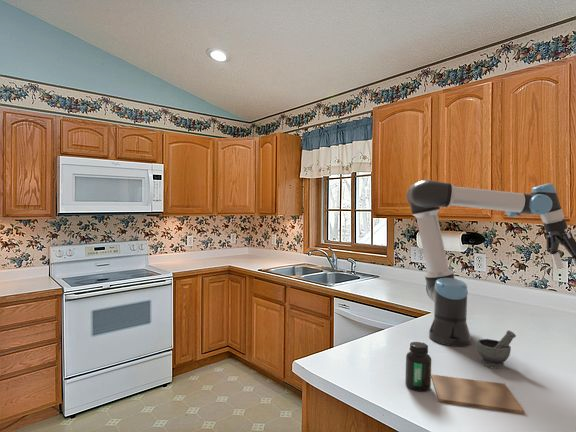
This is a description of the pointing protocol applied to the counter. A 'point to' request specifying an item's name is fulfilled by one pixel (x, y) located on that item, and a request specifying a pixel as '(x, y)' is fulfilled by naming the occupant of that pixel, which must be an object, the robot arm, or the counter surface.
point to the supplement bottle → (418, 367)
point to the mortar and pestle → (495, 350)
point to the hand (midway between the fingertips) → (570, 271)
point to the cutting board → (475, 394)
